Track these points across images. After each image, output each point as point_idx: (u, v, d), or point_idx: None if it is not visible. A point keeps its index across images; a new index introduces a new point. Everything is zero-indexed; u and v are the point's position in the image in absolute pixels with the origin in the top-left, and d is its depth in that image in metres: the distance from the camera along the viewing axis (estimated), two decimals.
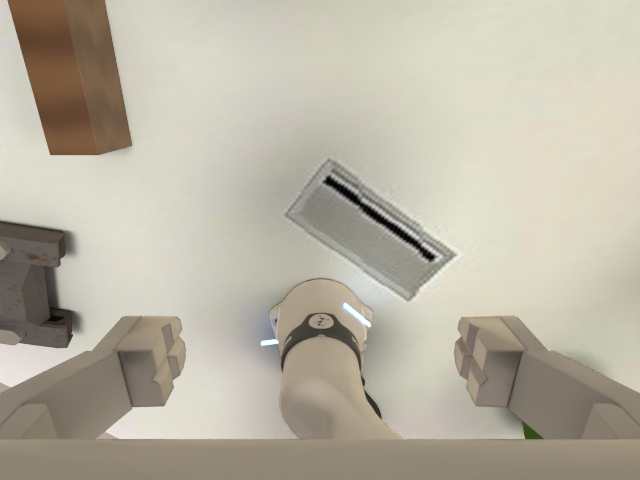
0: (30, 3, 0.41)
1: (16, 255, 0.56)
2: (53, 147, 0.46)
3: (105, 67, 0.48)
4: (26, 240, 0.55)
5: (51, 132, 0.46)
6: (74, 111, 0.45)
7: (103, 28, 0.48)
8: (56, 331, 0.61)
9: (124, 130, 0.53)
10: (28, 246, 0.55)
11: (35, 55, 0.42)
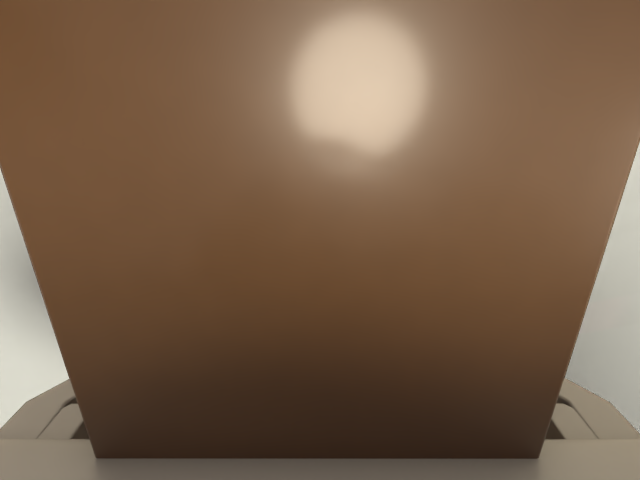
0: None
1: None
2: None
3: None
4: None
5: None
6: None
7: None
8: None
9: None
10: None
11: None
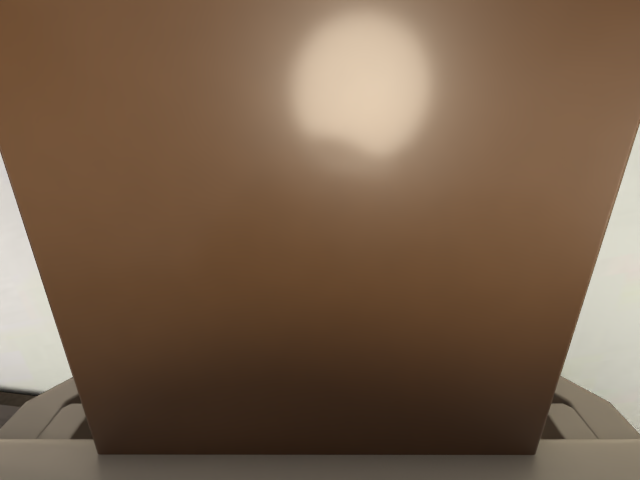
0: None
1: None
2: None
3: None
4: None
5: None
6: (406, 453, 0.05)
7: None
8: None
9: None
10: None
11: None
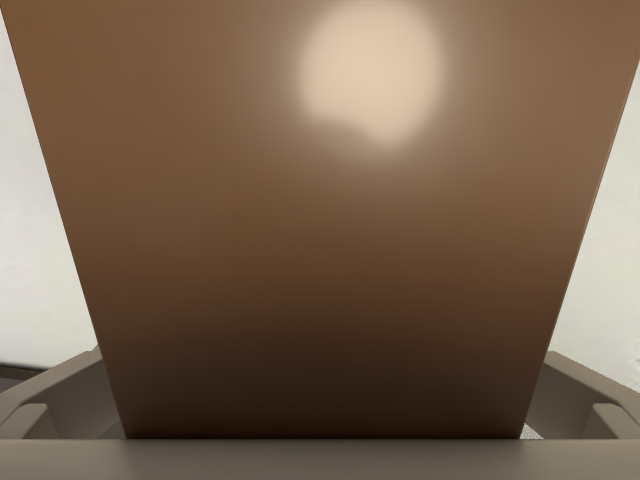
0: None
1: None
2: None
3: None
4: None
5: None
6: (411, 373, 0.05)
7: None
8: None
9: None
10: None
11: None
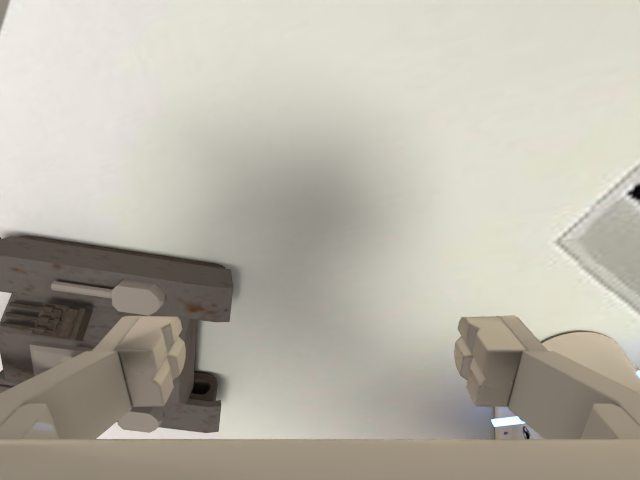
0: None
1: (170, 306, 0.36)
2: None
3: None
4: (189, 283, 0.35)
5: None
6: None
7: None
8: (209, 411, 0.42)
9: None
10: (191, 292, 0.36)
11: None
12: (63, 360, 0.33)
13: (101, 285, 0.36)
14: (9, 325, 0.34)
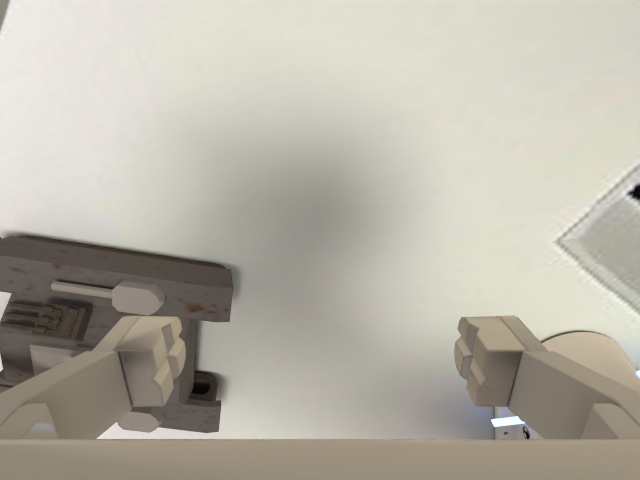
0: None
1: (170, 306, 0.36)
2: None
3: None
4: (189, 283, 0.35)
5: None
6: None
7: None
8: (209, 411, 0.42)
9: None
10: (191, 292, 0.36)
11: None
12: (63, 360, 0.33)
13: (101, 285, 0.36)
14: (9, 325, 0.34)
